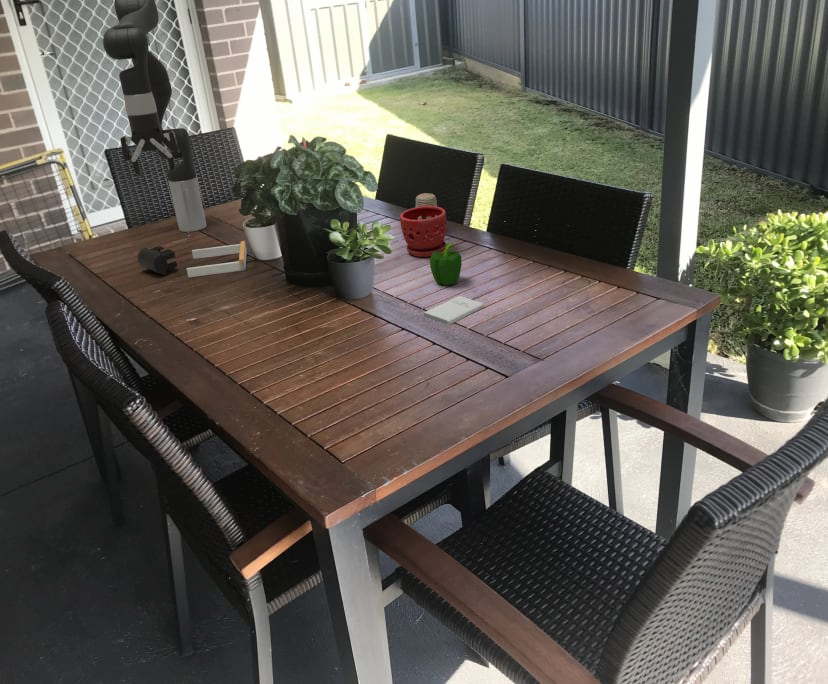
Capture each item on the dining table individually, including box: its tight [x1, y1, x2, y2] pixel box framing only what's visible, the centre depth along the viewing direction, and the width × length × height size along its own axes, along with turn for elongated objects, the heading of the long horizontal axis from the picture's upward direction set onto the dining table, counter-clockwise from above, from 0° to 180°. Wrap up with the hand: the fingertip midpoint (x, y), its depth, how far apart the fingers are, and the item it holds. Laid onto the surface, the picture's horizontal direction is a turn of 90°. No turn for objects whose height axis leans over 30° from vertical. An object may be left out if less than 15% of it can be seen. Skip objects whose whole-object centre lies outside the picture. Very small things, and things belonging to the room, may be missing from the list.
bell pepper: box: [429, 243, 463, 286], centre depth 187 cm, size 8×8×10 cm
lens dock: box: [186, 240, 248, 278], centre depth 215 cm, size 17×16×3 cm
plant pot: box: [399, 206, 447, 258], centre depth 209 cm, size 13×13×12 cm
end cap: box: [137, 245, 179, 276], centre depth 212 cm, size 10×7×7 cm
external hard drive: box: [423, 295, 485, 326], centre depth 173 cm, size 2×8×12 cm
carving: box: [414, 192, 438, 220], centre depth 225 cm, size 6×8×12 cm
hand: (156, 173), depth 197 cm, fingers open, 8 cm apart
